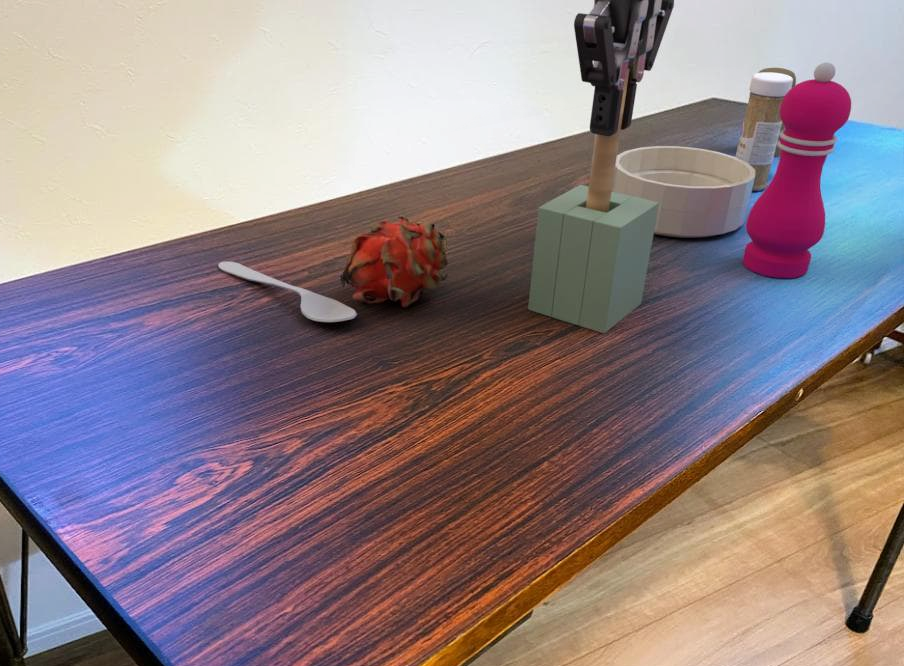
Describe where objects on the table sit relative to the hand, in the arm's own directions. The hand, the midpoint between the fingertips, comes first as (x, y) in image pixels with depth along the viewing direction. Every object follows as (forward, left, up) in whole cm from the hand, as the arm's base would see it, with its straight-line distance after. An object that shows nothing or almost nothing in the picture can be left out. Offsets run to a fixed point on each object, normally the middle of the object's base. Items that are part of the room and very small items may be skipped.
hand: (610, 129), depth 76 cm
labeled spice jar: (+4, -60, -17) cm, 62 cm away
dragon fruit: (+15, +10, -17) cm, 25 cm away
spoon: (+24, +16, -17) cm, 33 cm away
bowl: (+3, -28, -17) cm, 33 cm away
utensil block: (0, 0, -17) cm, 17 cm away
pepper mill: (-11, -21, -17) cm, 29 cm away
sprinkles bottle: (0, -44, -17) cm, 47 cm away
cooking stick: (0, 0, -15) cm, 15 cm away
